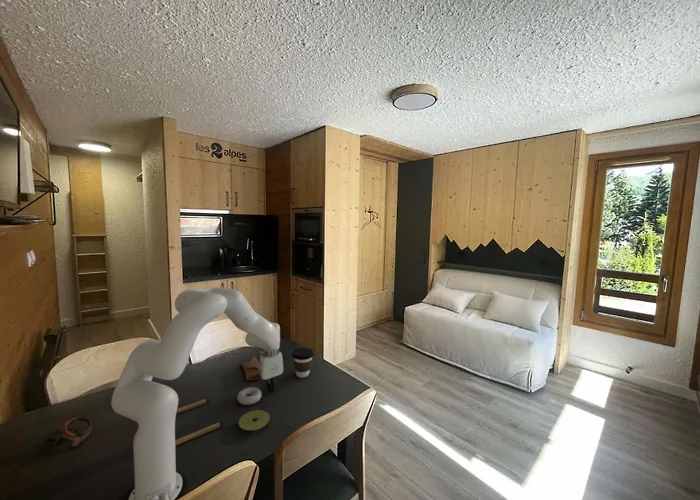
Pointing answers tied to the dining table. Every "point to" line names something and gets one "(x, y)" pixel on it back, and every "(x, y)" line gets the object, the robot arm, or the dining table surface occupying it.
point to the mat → (254, 420)
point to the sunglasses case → (251, 369)
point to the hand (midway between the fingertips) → (270, 389)
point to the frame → (199, 430)
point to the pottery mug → (68, 433)
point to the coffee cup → (302, 361)
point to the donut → (249, 396)
